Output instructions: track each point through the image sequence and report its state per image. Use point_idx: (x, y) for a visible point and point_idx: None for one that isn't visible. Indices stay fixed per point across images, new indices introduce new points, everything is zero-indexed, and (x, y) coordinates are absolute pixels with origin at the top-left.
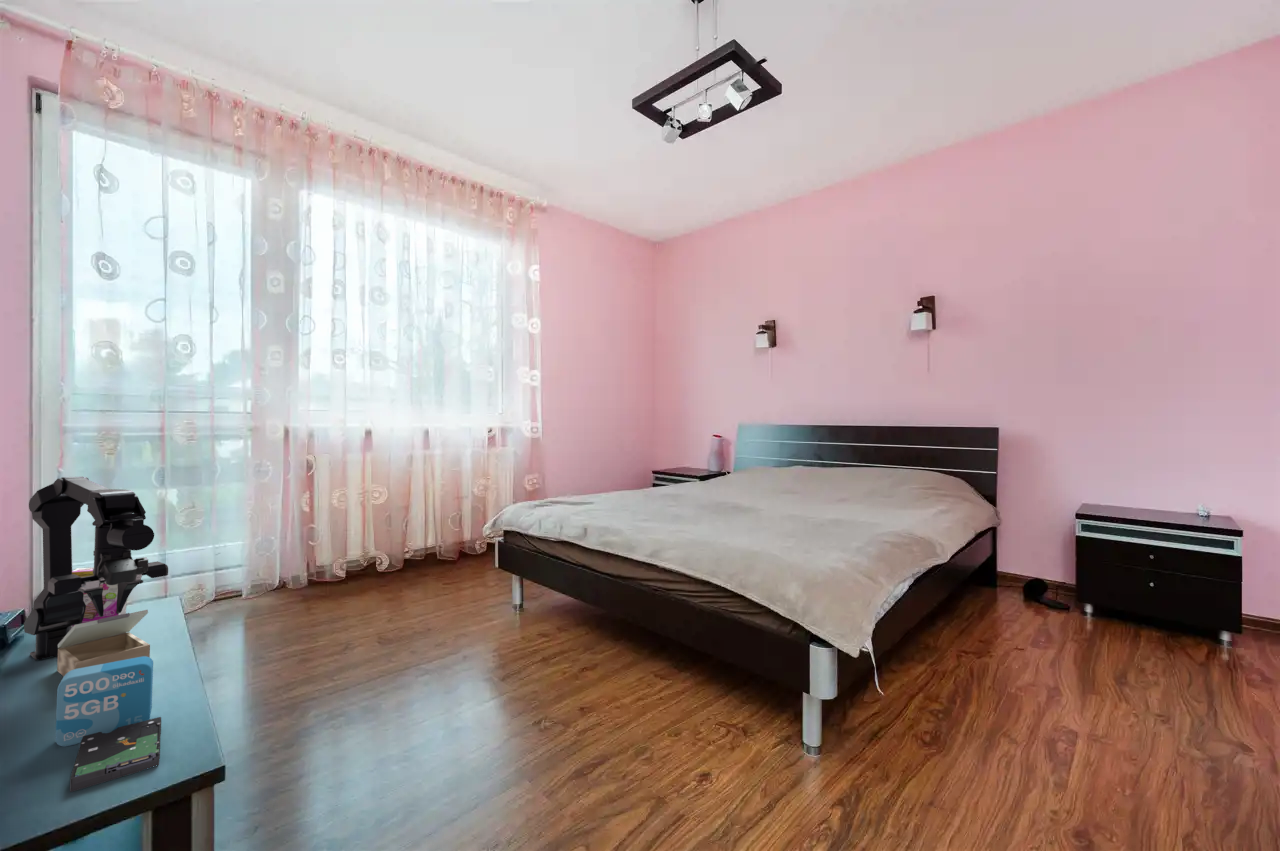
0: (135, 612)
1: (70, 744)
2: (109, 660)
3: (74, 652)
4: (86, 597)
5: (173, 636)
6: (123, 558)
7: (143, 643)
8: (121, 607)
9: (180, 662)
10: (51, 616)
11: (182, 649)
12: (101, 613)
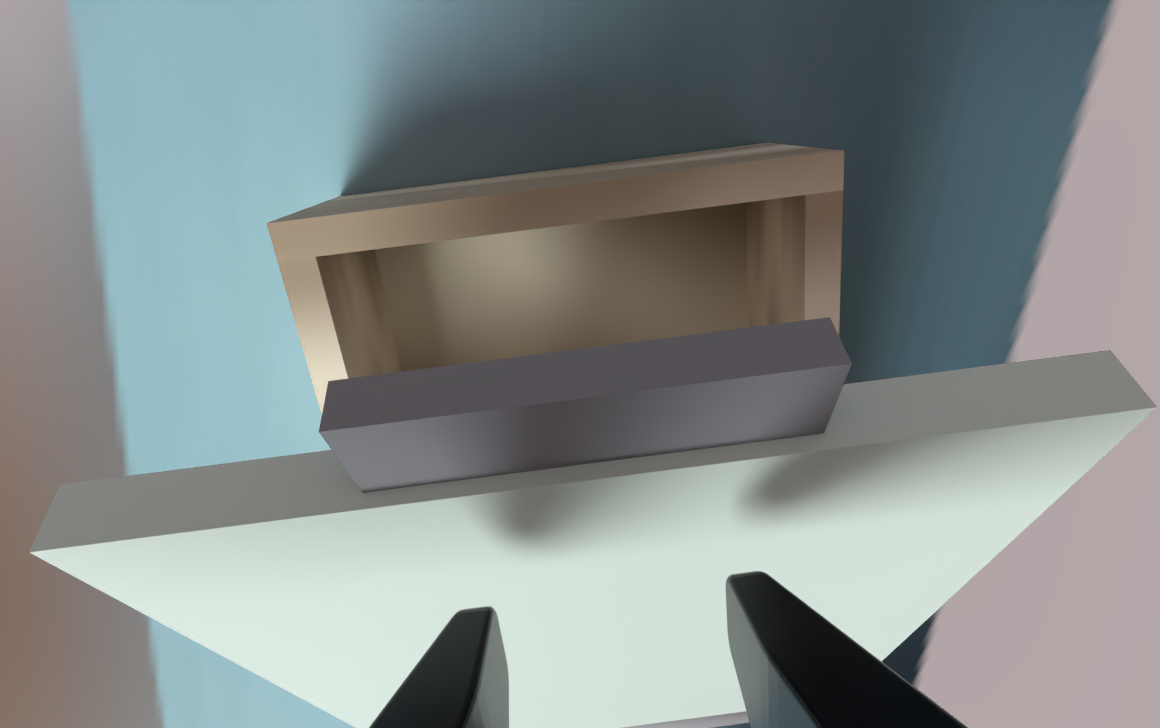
0: (234, 516)
1: None
2: (592, 177)
3: None
4: None
5: (195, 709)
6: None
7: (321, 319)
8: (433, 684)
9: (128, 90)
10: None
11: (129, 410)
12: (780, 604)
